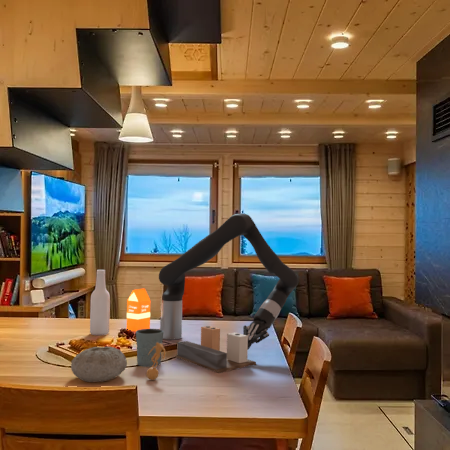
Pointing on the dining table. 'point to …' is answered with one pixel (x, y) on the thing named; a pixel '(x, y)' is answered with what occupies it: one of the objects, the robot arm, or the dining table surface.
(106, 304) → the alcohol
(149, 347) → the blue-grey cup
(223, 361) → the console
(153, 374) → the figurine
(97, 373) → the grey rounded rock
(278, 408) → the dining table surface
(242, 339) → the one dot button
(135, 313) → the orange juice
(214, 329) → the two dot button
